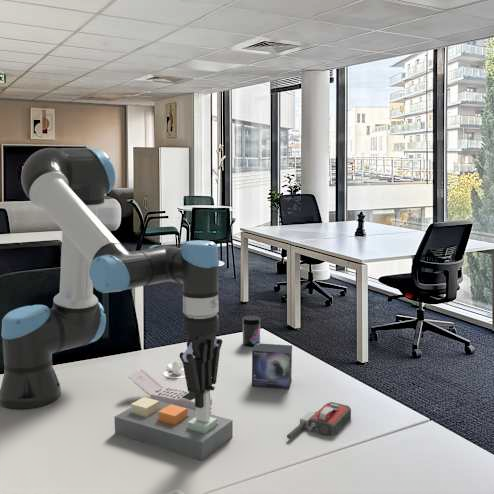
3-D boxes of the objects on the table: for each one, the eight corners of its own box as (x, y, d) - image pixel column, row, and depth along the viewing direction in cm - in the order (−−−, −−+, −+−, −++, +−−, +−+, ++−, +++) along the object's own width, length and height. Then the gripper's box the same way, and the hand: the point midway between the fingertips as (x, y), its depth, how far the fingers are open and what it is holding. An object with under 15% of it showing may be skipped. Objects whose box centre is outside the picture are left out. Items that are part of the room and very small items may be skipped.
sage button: (187, 441, 129) (187, 422, 128) (199, 433, 133) (199, 414, 132) (205, 446, 127) (205, 426, 126) (217, 437, 130) (217, 418, 130)
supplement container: (246, 347, 194) (246, 321, 193) (240, 342, 199) (240, 316, 198) (262, 345, 196) (262, 319, 195) (256, 340, 201) (256, 314, 200)
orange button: (158, 430, 133) (158, 411, 132) (171, 422, 137) (171, 404, 136) (175, 435, 130) (174, 416, 130) (187, 427, 134) (187, 408, 134)
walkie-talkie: (321, 409, 148) (283, 441, 132) (321, 392, 148) (283, 423, 131) (354, 417, 144) (319, 452, 127) (354, 399, 143) (320, 432, 126)
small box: (250, 387, 161) (251, 350, 160) (254, 378, 168) (255, 342, 166) (289, 389, 160) (290, 352, 158) (292, 380, 166) (292, 344, 164)
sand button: (131, 422, 137) (130, 403, 136) (144, 414, 141) (143, 396, 140) (147, 427, 134) (146, 408, 134) (159, 419, 138) (159, 401, 138)
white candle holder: (166, 368, 176) (166, 355, 176) (193, 368, 176) (192, 355, 175) (160, 379, 168) (160, 365, 167) (188, 380, 167) (188, 366, 167)
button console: (115, 433, 135) (114, 416, 134) (149, 413, 145) (148, 397, 144) (202, 460, 123) (201, 442, 122) (232, 436, 133) (232, 420, 132)
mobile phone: (140, 368, 159) (220, 385, 147) (141, 389, 160) (220, 408, 148) (125, 376, 154) (207, 394, 142) (126, 398, 155) (207, 417, 143)
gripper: (198, 324, 118) (199, 435, 121) (232, 309, 129) (233, 412, 132) (167, 319, 122) (170, 427, 125) (203, 305, 133) (205, 405, 136)
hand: (202, 419), depth 129 cm, fingers closed
